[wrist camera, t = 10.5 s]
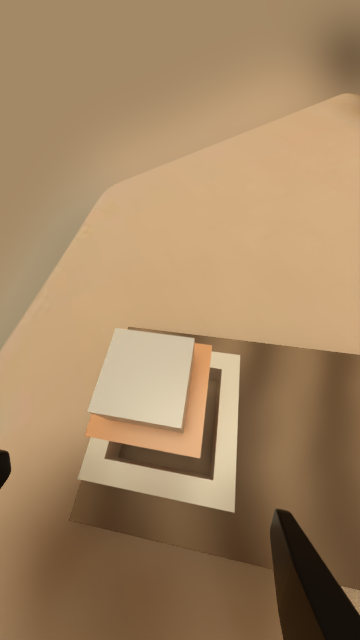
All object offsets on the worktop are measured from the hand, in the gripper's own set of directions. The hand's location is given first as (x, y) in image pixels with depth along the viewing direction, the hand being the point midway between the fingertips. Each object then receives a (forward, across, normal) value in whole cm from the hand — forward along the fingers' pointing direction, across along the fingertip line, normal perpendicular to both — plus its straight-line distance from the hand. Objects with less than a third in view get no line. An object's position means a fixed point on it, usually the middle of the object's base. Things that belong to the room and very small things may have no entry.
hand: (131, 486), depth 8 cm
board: (+10, -6, +5) cm, 12 cm away
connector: (+9, 0, +4) cm, 10 cm away
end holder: (+9, 0, +4) cm, 10 cm away
